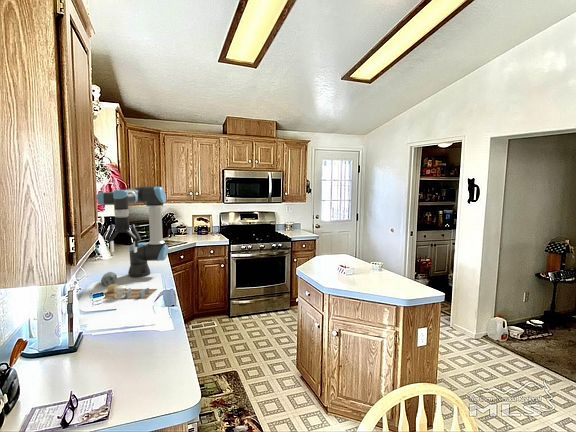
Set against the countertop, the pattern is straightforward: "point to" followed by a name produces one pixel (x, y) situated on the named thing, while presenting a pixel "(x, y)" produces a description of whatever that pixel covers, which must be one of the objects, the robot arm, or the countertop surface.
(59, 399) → the countertop surface
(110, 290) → the tab
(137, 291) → the board
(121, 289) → the bobbin
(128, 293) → the notch block
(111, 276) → the spool
